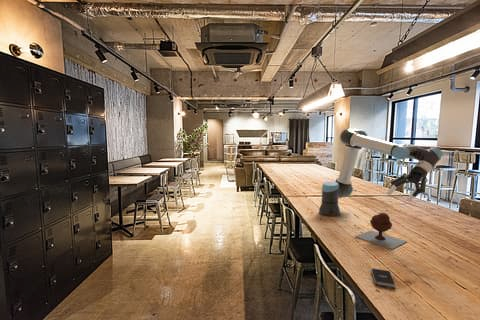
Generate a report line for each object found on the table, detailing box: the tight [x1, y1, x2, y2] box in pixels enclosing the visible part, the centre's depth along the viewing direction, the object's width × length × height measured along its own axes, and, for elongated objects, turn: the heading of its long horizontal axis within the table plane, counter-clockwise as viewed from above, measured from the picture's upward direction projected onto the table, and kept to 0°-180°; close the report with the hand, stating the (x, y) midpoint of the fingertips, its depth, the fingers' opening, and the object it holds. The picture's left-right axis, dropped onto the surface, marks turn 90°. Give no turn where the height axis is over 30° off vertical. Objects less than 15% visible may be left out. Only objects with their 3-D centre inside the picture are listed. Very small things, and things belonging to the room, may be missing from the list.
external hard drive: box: [371, 268, 396, 290], centre depth 103 cm, size 7×11×2 cm, turn 160°
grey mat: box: [354, 229, 408, 251], centre depth 143 cm, size 20×17×1 cm
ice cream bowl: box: [369, 212, 393, 240], centre depth 143 cm, size 11×11×15 cm
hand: (397, 197), depth 144 cm, fingers open, 13 cm apart
